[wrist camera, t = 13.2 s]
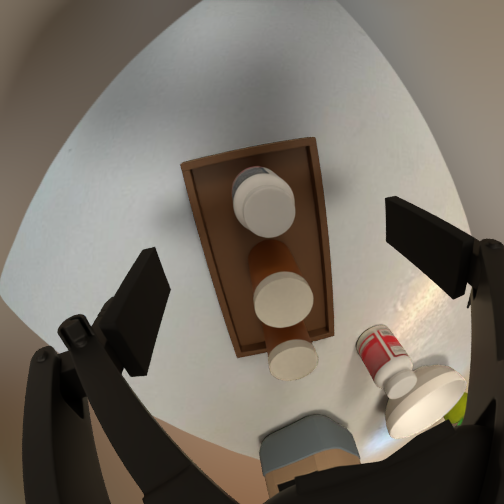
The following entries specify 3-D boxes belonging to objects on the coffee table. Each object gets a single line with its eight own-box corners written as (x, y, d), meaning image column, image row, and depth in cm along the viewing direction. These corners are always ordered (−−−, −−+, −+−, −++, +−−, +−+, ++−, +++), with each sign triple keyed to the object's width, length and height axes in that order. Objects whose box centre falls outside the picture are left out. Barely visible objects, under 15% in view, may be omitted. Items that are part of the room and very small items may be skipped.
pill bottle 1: (223, 203, 29) (222, 231, 21) (243, 158, 28) (250, 167, 19) (269, 221, 31) (285, 254, 22) (289, 178, 29) (314, 195, 21)
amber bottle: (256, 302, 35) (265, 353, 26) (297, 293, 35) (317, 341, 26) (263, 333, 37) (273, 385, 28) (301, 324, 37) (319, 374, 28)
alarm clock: (318, 403, 46) (351, 510, 24) (353, 425, 52) (383, 507, 30) (250, 437, 49) (261, 534, 28) (294, 454, 55) (310, 532, 34)
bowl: (379, 420, 52) (392, 447, 44) (368, 384, 45) (385, 418, 37) (445, 381, 50) (461, 405, 42) (448, 335, 43) (472, 362, 35)
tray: (183, 162, 28) (180, 164, 26) (309, 136, 28) (315, 137, 26) (236, 348, 38) (237, 358, 36) (330, 327, 38) (334, 335, 36)
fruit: (467, 384, 54) (483, 406, 45) (447, 406, 58) (461, 428, 49) (453, 385, 52) (471, 410, 43) (432, 408, 56) (446, 433, 47)
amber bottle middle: (242, 243, 31) (249, 285, 23) (288, 234, 31) (310, 271, 23) (251, 283, 33) (260, 333, 25) (294, 274, 33) (315, 320, 25)
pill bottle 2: (356, 358, 42) (382, 408, 31) (353, 333, 39) (383, 385, 29) (389, 344, 41) (419, 390, 31) (389, 318, 39) (424, 365, 29)
